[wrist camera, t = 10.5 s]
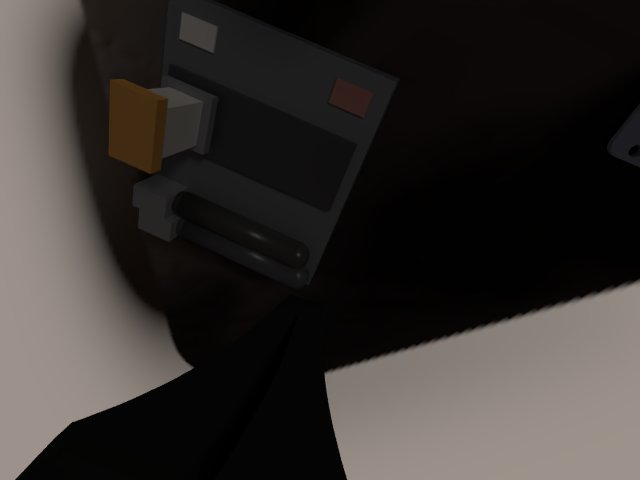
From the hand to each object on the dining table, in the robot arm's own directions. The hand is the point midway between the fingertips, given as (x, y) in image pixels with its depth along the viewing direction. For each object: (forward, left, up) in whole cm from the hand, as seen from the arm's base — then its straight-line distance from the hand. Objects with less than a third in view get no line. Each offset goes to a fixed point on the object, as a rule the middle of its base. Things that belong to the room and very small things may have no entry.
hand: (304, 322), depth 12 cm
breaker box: (+6, -2, -9) cm, 11 cm away
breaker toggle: (+8, -3, -6) cm, 11 cm away
